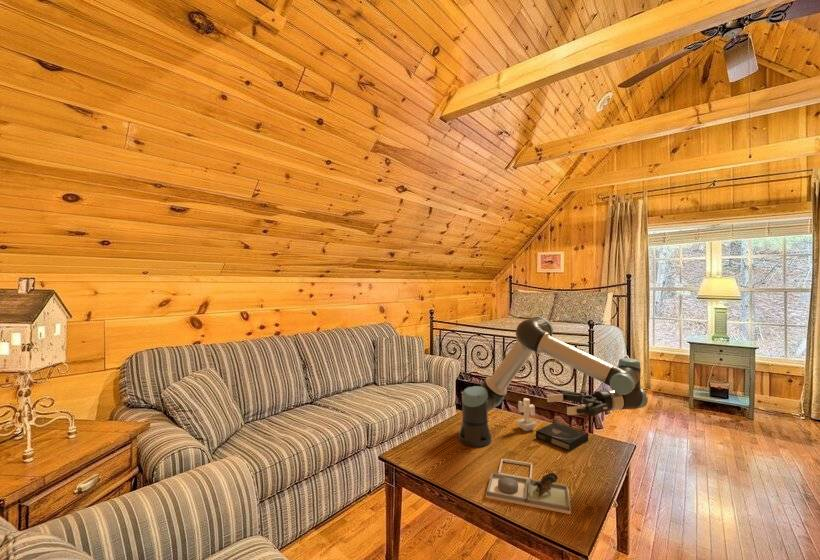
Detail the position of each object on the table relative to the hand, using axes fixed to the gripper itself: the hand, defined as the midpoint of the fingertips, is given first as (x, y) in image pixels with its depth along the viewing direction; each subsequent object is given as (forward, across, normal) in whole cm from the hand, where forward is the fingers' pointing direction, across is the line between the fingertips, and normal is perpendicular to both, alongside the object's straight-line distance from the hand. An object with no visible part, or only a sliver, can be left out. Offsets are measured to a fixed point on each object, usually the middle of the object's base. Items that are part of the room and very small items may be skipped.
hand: (556, 404), depth 145 cm
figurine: (-9, +43, -28) cm, 52 cm away
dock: (+16, -8, -28) cm, 33 cm away
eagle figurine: (+11, -10, -27) cm, 31 cm away
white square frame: (+13, +7, -28) cm, 32 cm away
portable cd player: (-20, +29, -29) cm, 45 cm away
